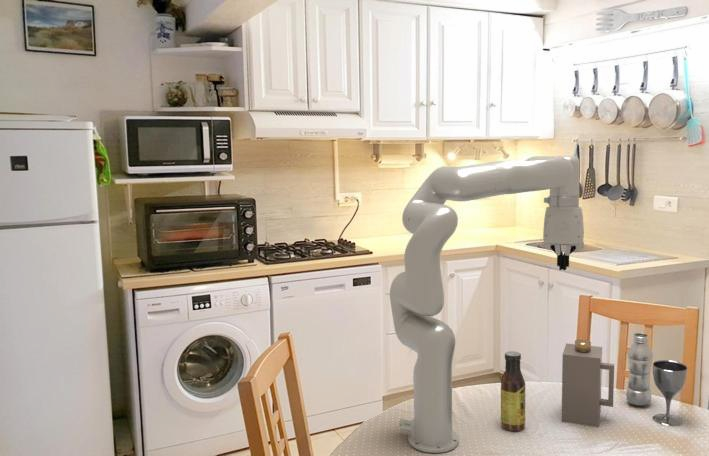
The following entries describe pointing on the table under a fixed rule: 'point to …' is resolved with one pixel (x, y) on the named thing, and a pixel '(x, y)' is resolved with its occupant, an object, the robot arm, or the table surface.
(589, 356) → the press pot
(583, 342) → the plunger
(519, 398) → the sauce bottle
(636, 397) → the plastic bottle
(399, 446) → the table surface
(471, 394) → the table surface
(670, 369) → the wine glass
